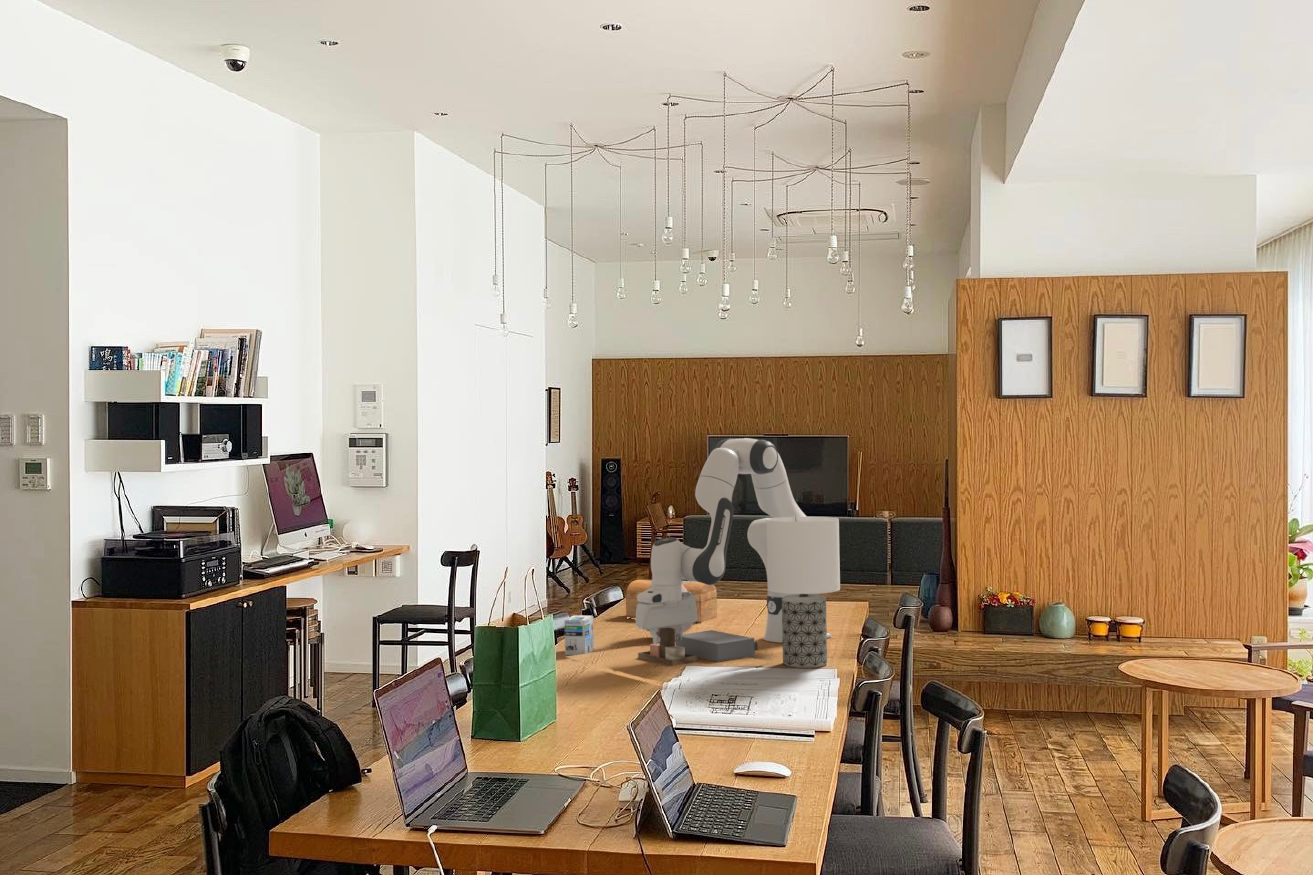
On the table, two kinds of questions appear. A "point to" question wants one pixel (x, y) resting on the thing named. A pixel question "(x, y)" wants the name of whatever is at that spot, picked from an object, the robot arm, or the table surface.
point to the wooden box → (702, 592)
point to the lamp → (803, 583)
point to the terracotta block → (655, 649)
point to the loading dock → (718, 645)
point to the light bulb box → (579, 635)
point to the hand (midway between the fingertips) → (667, 641)
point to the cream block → (674, 652)
